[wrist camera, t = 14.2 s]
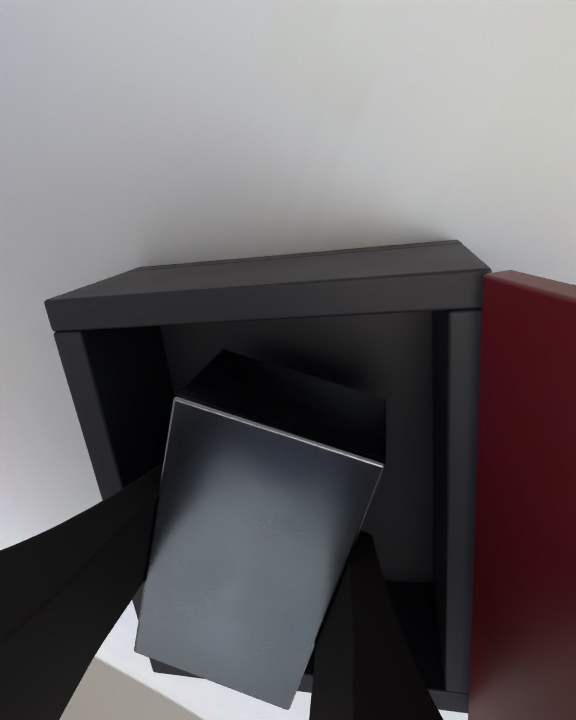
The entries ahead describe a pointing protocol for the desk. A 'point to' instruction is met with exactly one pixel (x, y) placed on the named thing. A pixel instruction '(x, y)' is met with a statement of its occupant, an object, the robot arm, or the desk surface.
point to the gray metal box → (256, 521)
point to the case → (324, 361)
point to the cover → (525, 503)
